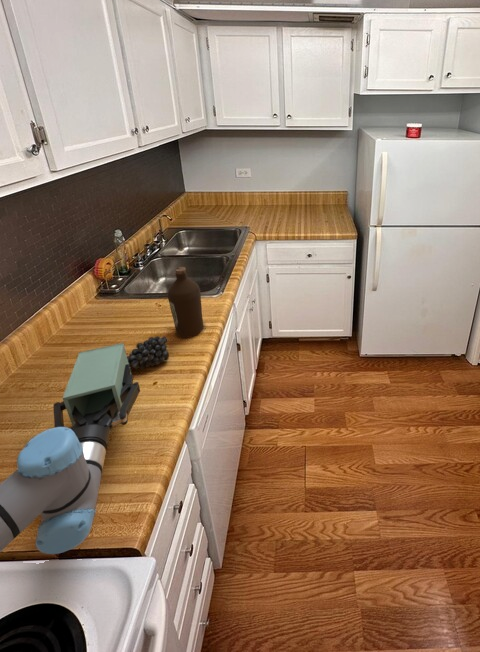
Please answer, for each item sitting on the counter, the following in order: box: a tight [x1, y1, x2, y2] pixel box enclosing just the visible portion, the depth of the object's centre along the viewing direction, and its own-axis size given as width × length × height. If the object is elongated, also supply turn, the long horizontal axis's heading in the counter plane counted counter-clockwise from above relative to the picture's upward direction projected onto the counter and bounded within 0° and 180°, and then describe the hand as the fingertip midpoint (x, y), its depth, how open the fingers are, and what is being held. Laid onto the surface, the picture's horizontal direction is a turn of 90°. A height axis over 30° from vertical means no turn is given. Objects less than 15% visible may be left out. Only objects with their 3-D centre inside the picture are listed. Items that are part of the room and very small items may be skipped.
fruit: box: [127, 335, 171, 372], centre depth 104 cm, size 9×8×15 cm
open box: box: [62, 342, 132, 427], centre depth 82 cm, size 15×10×12 cm, turn 22°
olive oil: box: [167, 266, 204, 338], centre depth 117 cm, size 11×11×25 cm
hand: (104, 373), depth 86 cm, fingers closed on open box, 10 cm apart
